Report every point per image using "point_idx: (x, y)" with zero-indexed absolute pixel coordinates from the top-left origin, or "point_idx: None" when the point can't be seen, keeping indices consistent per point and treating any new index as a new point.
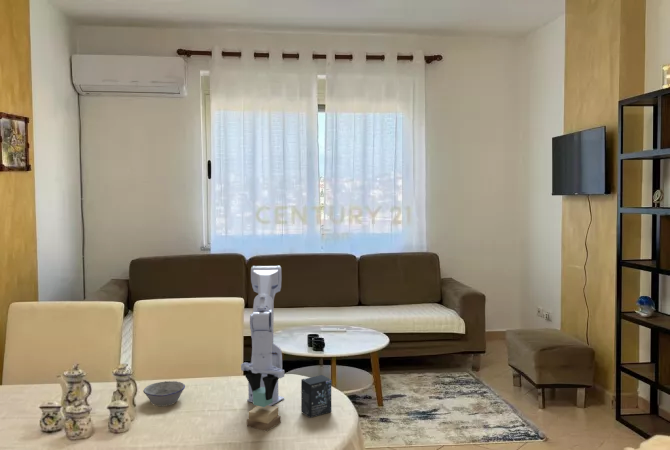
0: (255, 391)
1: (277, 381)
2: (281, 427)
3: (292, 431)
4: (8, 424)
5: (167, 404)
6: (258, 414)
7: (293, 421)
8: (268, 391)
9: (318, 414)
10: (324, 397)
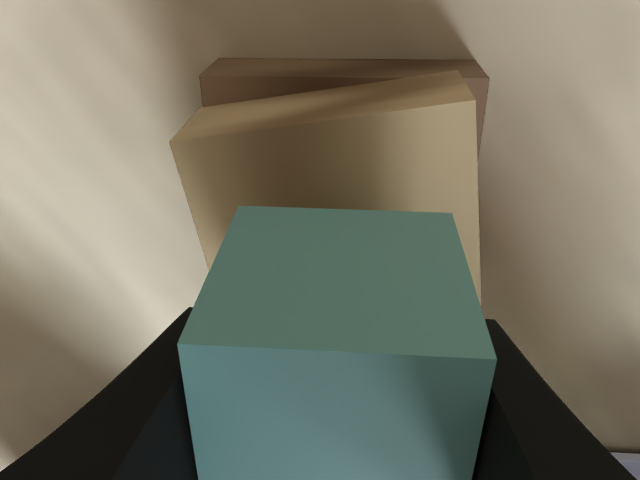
0: (431, 367)
1: None
2: (159, 195)
3: (23, 174)
4: None
5: None
6: (310, 117)
7: (163, 324)
8: (75, 416)
9: None
10: None
